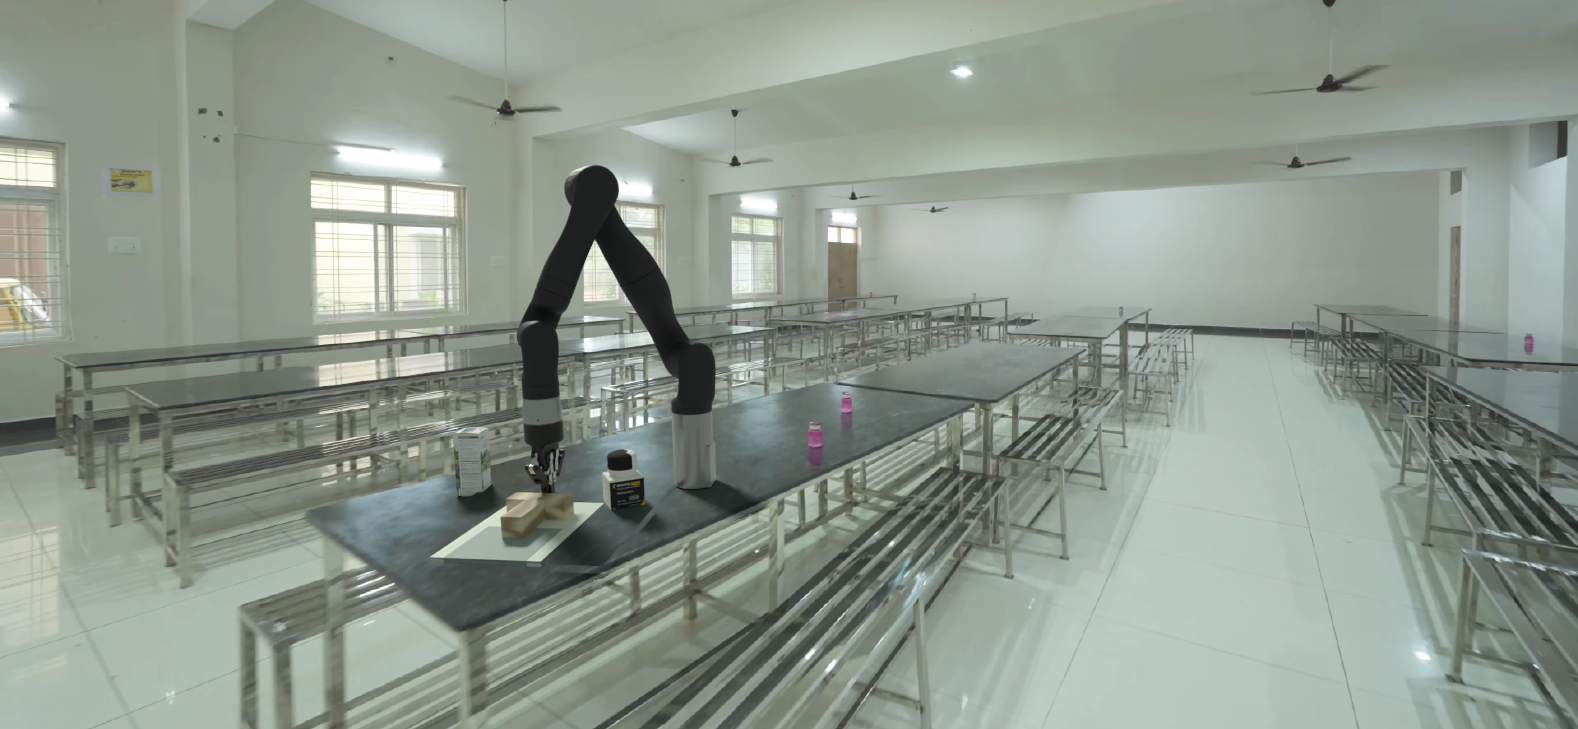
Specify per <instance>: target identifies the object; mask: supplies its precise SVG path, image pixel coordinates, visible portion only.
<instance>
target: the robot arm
mask: <svg viewBox="0 0 1578 729" xmlns="http://www.w3.org/2000/svg"><path fill="white" fill-rule="evenodd" d="M563 185H564V186H563V190H564V195H565V198H566V201H567V203H568V205H570V210H569V213H568V217H567V220H566V223H565V225H564V227H563V230H562V231H561V234H560V236H559V238H558V240H557V241H556V243H555V244H554V247H553V248H552V250H551V251H550V253H549V255H548V257H547V259H546V261H545V263H544V264H543V267H542V270H541V273H540V275H539V277H538V280H537V282H536V285H535V288H534V291H533V295H532V298H531V300H530V302H529V304H528V306H527V308H526V309H525V312H524V313H523V315H522V318H521V320H520V323H519V326H518V328H517V330H516V341H517V344H518V346H519V347H520V349H521V358H522V369H523V370H522V373H521V393H522V407H521V408H522V411H521V412H522V425H523V438H524V443H525V444H526V445H527V446H528V445H529V446H530V447H531V452H530V458H531V462H530V463H529V464H526V465H525V467H524V471H525V472H526V474H527V475H528V477H529V478H530V480H531V481H532V483H533V484H534V485H539V486H540V488H541V489H540V490H541V491H540V493H556V490H555V489H556V488H555V483H556V482H557V477H560V475H561V471H562V467H563V463H564V459H565V455H566V450H565V449H563V448H562V449H561V448H560V442H562V441H563V440H564V439H565V435H564V434H565V432H564V418H563V417H564V416H563V406H562V405H563V404H562V401H561V394H560V380H559V374H558V373H559V372H558V371H559V370H558V368H559V355H560V354H559V353H560V350H559V348H560V347H559V346H560V345H559V336H558V332H557V327H558V325H559V322H560V320H561V317H562V315H563V313H565V312H566V311H567V310H568V308H569V305H570V303H571V302H572V298H573V296H574V293H575V290H576V288H577V285H578V281H579V279H580V277H581V274H582V271H583V268H584V266H585V264H586V261H587V258H588V256H589V254H590V252H591V249H592V246H593V244H594V243H595V242H596V245H597V246H598V248H599V250H600V253H602V254H601V255H603V257H604V259H605V262H606V263H607V265H608V267H609V268H610V271H611V273H612V274H613V276H614V277H615V280H616V282H617V283H618V286H619V287H620V289H621V291H622V292H623V293H624V295H625V298H626V299H627V300H628V302H629V303H630V304H631V306H632V308H633V309H634V311H635V313H636V315H637V316H638V319H639V320H640V321H641V323H642V325H643V326H644V327H645V329H646V331H647V332H648V334H649V335H650V337H651V339H652V341H653V343H654V346H655V348H656V350H657V352H658V355H659V357H660V360H661V361H662V363H663V366H664V368H665V369H666V371H667V373H668V374H670V375H671V376H672V377H673V378H675V379H677V380H678V384H677V385H678V386H677V387H678V391H677V395H676V396H675V397H673V398H672V399H671V403H670V404H671V409H670V410H671V431H672V432H671V434H672V438H671V439H672V456H673V457H672V459H673V460H672V461H673V482H674V483H673V484H674V486H675V487H677V488H680V489H684V490H697V489H704V488H711V487H712V486H713V484H714V483H715V482H716V480H717V462H716V459H717V458H716V454H717V453H716V440H715V439H714V433H713V432H714V431H713V403H714V399H715V396H716V371H717V370H716V358H715V355H714V352H713V350H712V349H711V348H710V346H708V344H705V343H703V342H699V341H695V340H694V341H693V340H691V339H690V337H689V336H688V335H687V334H686V332H685V330H684V329H683V327H682V325H681V324H680V322H679V320H678V319H677V315H676V314H675V310H674V306H673V299H672V293H671V292H672V291H671V289H670V286H669V282H668V281H667V279H666V277H665V275H664V274H663V272H662V270H661V267H660V266H659V265H658V262H657V261H656V259H655V258H654V257H653V255H652V254H651V252H650V250H648V249H647V248H646V246H644V244H643V243H642V242H641V241H640V240H639V239H638V238H637V237H636V236H635V234H634V233H633V232H632V231H631V230H630V229H629V228H628V226H627V225H626V224H625V222H624V220H623V219H622V216H621V215H620V213H619V211H618V209H617V207H616V205H615V204H616V202H617V201H618V198H619V192H620V186H619V181H618V179H617V177H616V175H615V173H613V172H612V170H610V169H609V168H608V167H606V166H603V165H598V164H590V165H589V164H588V165H585V166H582V167H580V168H577V169H574V170H572V171H570V173H569V174H568V175H567V176H566V177H565V181H564V184H563Z"/></svg>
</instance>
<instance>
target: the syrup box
mask: <svg viewBox="0 0 1578 729" xmlns="http://www.w3.org/2000/svg"><path fill="white" fill-rule="evenodd" d="M452 443H453V456H454V458H453V459H454V471H455V485H456V496H457V497H458V496H462V497H471V496H474V495H475V494H477V493H483V492H485V491H486V490H487V489H488V488H489V487H490V486H492V484H493V483H492V480H493V479H492V465H491V464H492V463H491V450H490V434H489V427H481V426H479V427H478V426H473V427H470V426H469V427H463V428H461V429H460V430H458V431H456V432H454V433H453V434H452Z"/></svg>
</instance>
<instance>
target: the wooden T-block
mask: <svg viewBox="0 0 1578 729" xmlns="http://www.w3.org/2000/svg"><path fill="white" fill-rule="evenodd" d="M573 502H574V493H556V492H555V493H541V492H525V491H524V492H521V491H519V492H517V491H516V492H514V493H513V494H511V495H510V496H508V497H506V499H505V504H506V505H505V506H506V507H507V512H506V513H505V514H504V515H502V516H501V517H500V519H501V532H502V537H503V538H523V537H525V536H526V535H527V534H529V533H530V532H531V531H532V530H534V529H535V528H536V527H537V526H539V525H540V524H541V523H542V522H544V521H545V520H566V519H568V518H569V517H570V516H571V515H572V514H573V513H574V503H573Z"/></svg>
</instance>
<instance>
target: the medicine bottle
mask: <svg viewBox="0 0 1578 729" xmlns="http://www.w3.org/2000/svg"><path fill="white" fill-rule="evenodd" d="M606 465H607V471H603V472H601V473H602V474H601V475H602V477H601V478H602V492H603V501H604V504H606V506H607V507H608V508H609V510H610V511H616V510H622V509H629V508H633V507H638V506H639V507H640V506H644V505H646V496H645V494H646V493H645V476H644V475H643V474H642V473H641V472H640V471H639V470H638V453H637V452H636V451H635V450H632V449H630V448H629V449H626V448H621V449H620V448H619V449H616V450H612V451H611V452H608V453H607V455H606Z"/></svg>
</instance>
